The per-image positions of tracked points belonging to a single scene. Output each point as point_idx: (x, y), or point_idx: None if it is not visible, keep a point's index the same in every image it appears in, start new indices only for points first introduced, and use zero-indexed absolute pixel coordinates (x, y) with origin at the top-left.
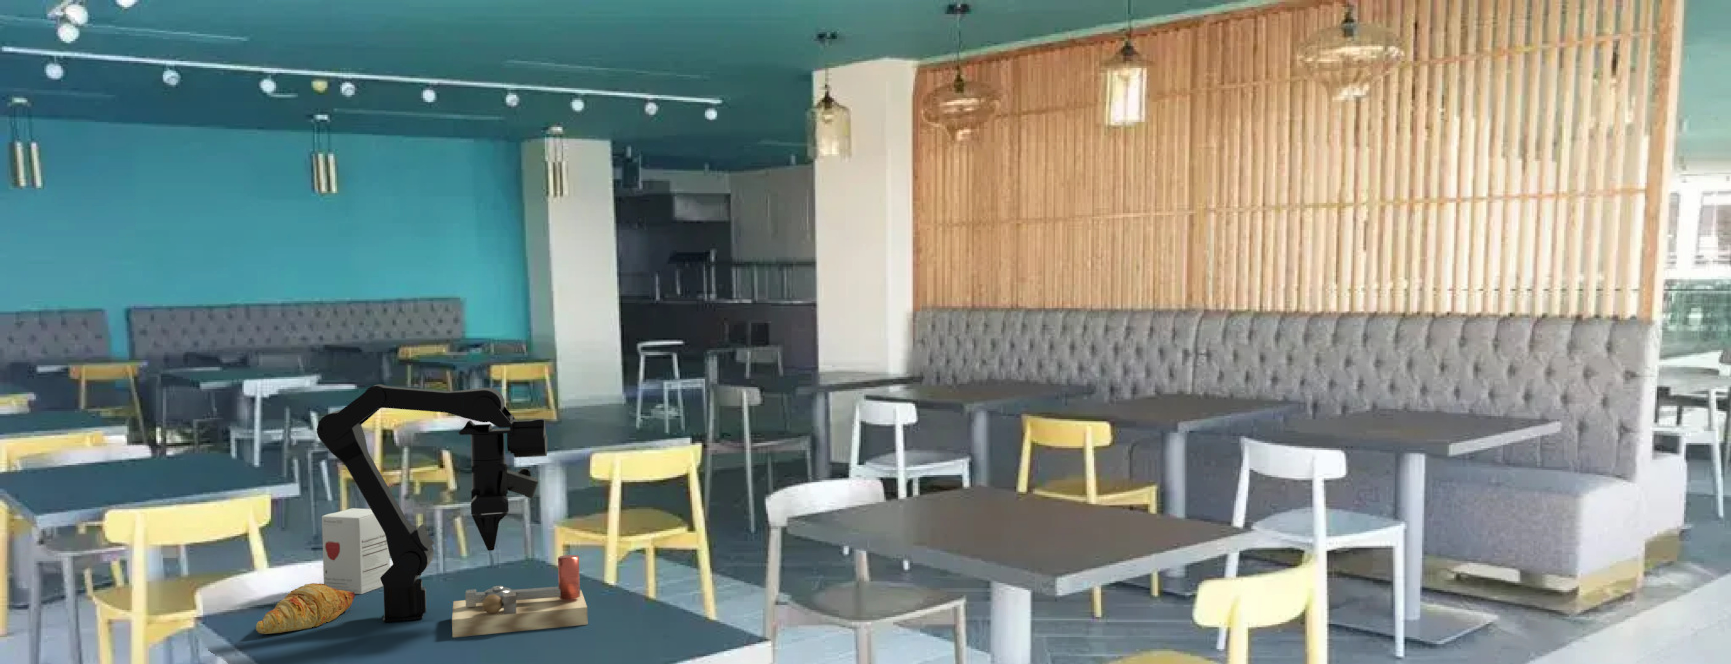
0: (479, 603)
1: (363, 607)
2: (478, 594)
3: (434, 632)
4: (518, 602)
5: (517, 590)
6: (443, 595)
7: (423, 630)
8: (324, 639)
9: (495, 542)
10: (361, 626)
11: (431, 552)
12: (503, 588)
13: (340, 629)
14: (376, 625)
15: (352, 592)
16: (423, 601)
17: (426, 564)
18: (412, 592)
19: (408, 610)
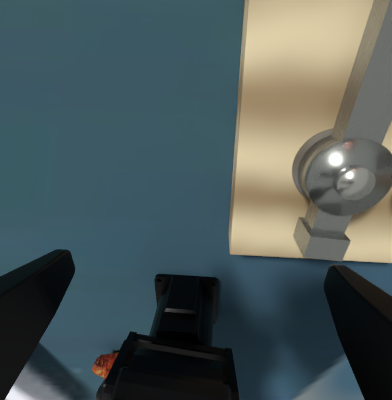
0: (281, 207)
1: (108, 334)
2: (340, 228)
3: (318, 263)
4: (331, 110)
5: (365, 117)
6: (48, 242)
7: (293, 277)
8: (269, 369)
9: (383, 291)
10: (220, 339)
11: (155, 388)
12: (332, 163)
13: None
14: (223, 325)
15: (99, 366)
16: (197, 295)
17: (221, 377)
18: (206, 329)
19: (211, 305)
